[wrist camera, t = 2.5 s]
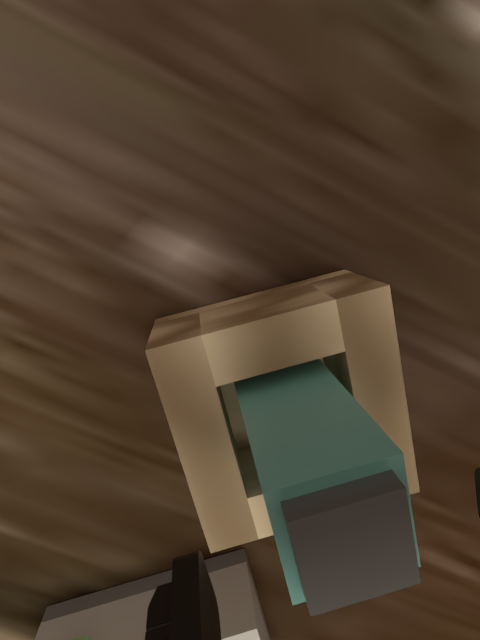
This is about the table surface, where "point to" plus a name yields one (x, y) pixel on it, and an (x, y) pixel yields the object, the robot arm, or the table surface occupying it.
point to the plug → (329, 488)
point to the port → (134, 597)
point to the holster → (262, 357)
